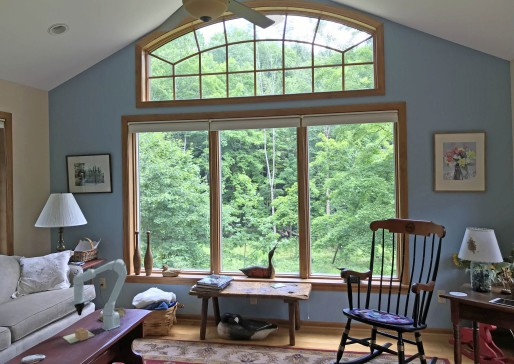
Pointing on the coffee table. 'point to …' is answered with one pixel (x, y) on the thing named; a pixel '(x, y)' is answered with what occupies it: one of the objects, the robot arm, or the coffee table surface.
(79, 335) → the terracotta block
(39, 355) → the coffee table surface
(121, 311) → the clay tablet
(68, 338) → the grey mat
